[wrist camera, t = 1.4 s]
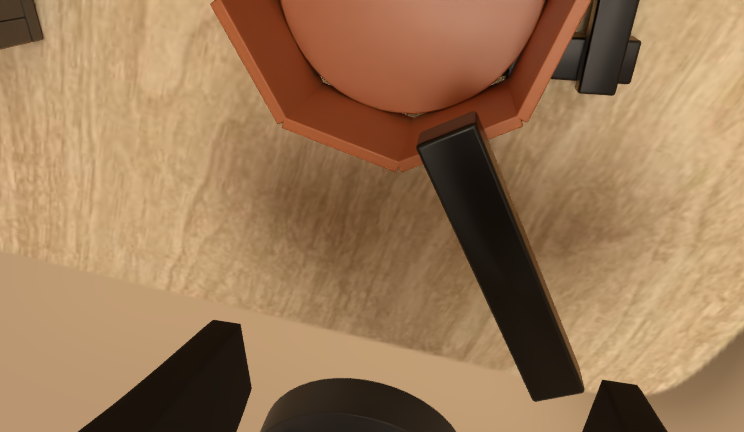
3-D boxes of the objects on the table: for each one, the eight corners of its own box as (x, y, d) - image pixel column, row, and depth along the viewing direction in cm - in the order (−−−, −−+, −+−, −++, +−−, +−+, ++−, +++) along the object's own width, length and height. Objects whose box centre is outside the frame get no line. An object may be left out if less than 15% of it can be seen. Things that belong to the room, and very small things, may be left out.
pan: (660, 266, 16) (718, 369, 12) (438, 323, 19) (428, 423, 15) (499, -283, 11) (511, -406, 7) (221, -95, 14) (118, -109, 10)
